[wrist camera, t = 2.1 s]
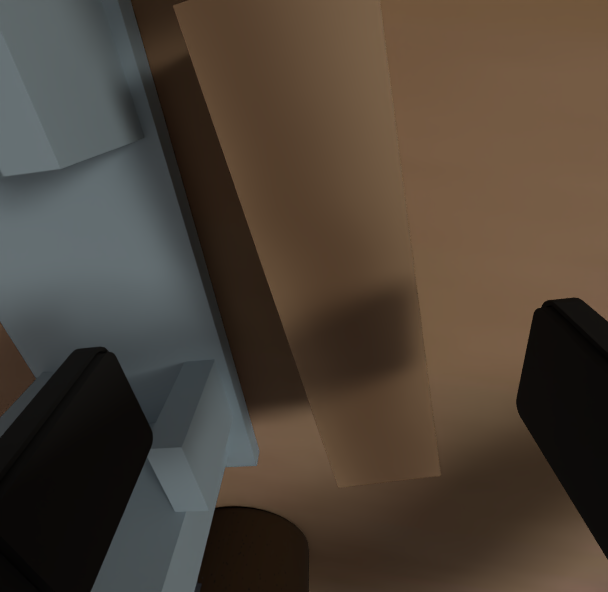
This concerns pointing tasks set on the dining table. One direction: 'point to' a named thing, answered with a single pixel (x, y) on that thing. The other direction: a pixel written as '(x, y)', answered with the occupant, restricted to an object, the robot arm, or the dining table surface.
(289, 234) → the rail
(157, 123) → the grey bracket base
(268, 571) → the olive oil
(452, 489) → the dining table surface
